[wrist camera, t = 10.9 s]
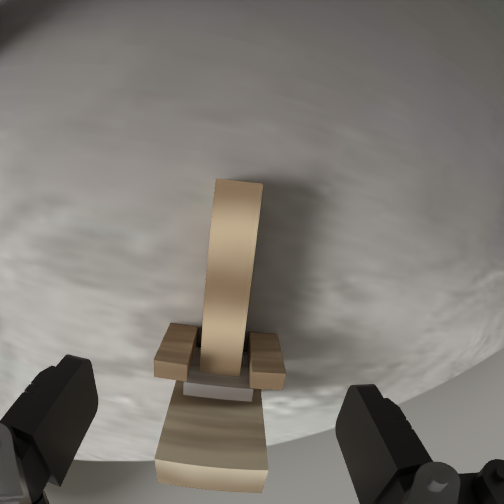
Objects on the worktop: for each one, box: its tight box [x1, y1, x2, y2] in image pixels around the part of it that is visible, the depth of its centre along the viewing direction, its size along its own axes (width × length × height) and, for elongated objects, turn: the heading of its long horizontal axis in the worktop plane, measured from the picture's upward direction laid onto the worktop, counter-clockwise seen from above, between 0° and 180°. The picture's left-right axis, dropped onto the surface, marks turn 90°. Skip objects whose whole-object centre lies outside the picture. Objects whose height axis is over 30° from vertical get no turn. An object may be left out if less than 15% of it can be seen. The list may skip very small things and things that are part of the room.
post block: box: [154, 323, 286, 493], centre depth 21 cm, size 7×9×12 cm
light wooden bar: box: [183, 179, 263, 402], centre depth 22 cm, size 15×5×6 cm, turn 173°
